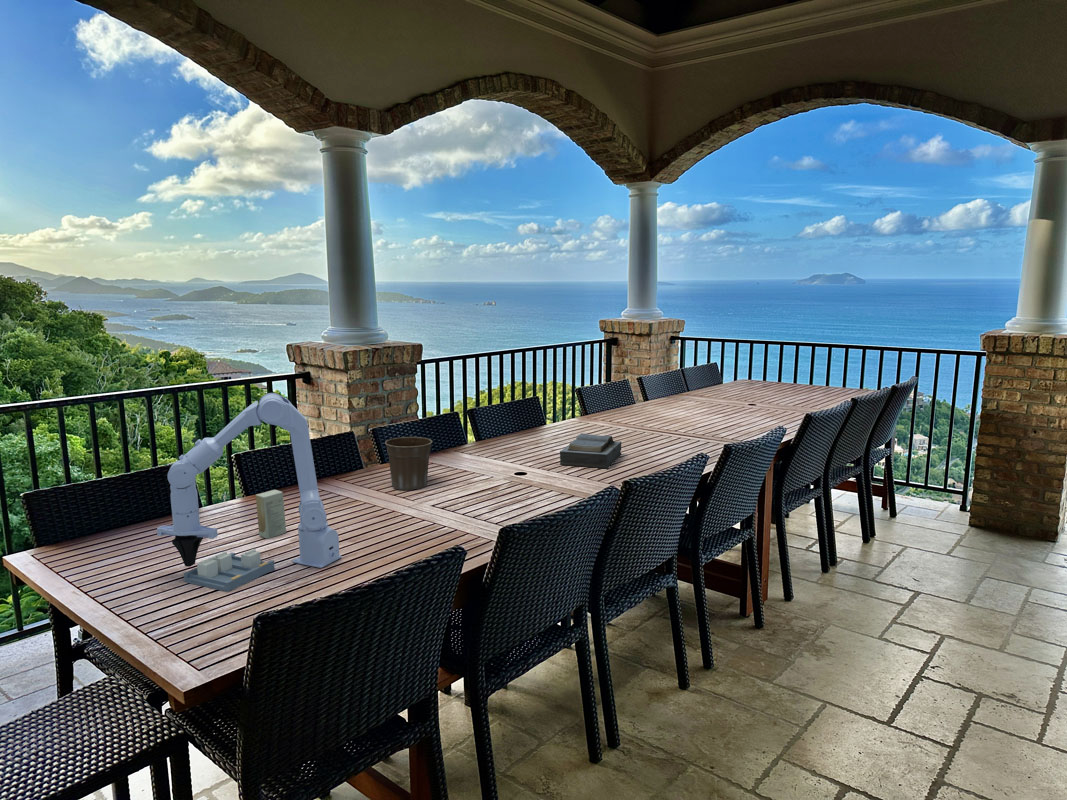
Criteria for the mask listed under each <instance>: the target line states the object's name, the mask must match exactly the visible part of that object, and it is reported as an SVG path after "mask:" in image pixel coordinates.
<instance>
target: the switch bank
mask: <svg viewBox="0 0 1067 800" xmlns="http://www.w3.org/2000/svg"><path fill="white" fill-rule="evenodd" d="M229 554H230V555H231V557H232V569H230V570H228V571H225V572H224V571H220V570H218V575H217V576H214V577H212V578H207V577H203V576H198V570H197V567H195V568H192V569H190V570H188V571H186V572H183V582H184V583H186V584H191V585H196V586H201V587H205V588H208V589H213V590H217V591H221V592H227V593H229V592H232V591H233V590H236V589H237V588H240V587H241V586H243V585H245V584H247V583H249V582H252V581H253V580H256V579H258V578H260V577H262V576H264V575H266V574H268V573H270V572H272V571H274V570H275V560H271V559H270V560H269V561H262V560H261V564H260V565H258V567H255V568H249V567H244V566H242V564H241V556H238V555H236V553H235V552H229Z"/></svg>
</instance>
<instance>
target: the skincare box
mask: <svg viewBox="0 0 1067 800" xmlns="http://www.w3.org/2000/svg"><path fill="white" fill-rule="evenodd" d="M255 500H256V501H255V502H256V513H257V523H258V526H257V527H258V536H259V537H261V538H264V539H266V540H267V539H270V538H271V539H272V538H273V537H277V536H280V535H284V534H286V533H287V525H286V515H285V513H286V512H285V502H284V492H283V491H281V490H277V489H271V490H268V491H265V492H261V493H257V494H255Z"/></svg>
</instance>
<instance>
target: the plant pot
mask: <svg viewBox="0 0 1067 800" xmlns="http://www.w3.org/2000/svg"><path fill="white" fill-rule="evenodd" d="M384 444H385V446H386V451H387V452H386V454H387V455H388V463H389V471H390V480H391V487H392V488H393V489H394V490H398V491H404V492H405V491H413V490H415V489H416V490H421V489H422V490H423V489H424V488H426V487H427V486H428V475H429V474H428V473H429V462H430V461H429V460H430V453H431V449H432V448H431V447H432V444H433V440H432V439H430V438H426V437H421V436H405V437H404V436H402V437H394V438H390V439H387V440H385V442H384Z"/></svg>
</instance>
